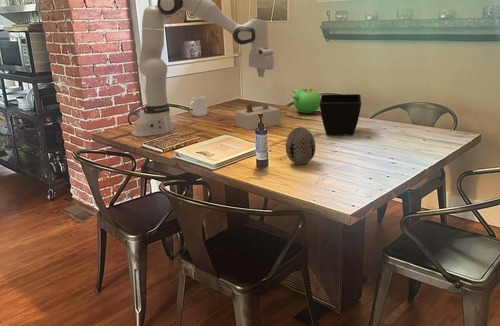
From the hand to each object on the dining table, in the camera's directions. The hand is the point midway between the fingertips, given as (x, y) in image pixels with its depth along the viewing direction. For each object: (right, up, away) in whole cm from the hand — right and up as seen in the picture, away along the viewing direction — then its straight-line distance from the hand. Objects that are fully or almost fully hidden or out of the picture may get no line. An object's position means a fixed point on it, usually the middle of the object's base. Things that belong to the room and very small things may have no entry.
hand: (261, 77), depth 242 cm
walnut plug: (-6, -24, +2) cm, 24 cm away
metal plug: (+3, -23, +7) cm, 25 cm away
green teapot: (+27, -16, +26) cm, 41 cm away
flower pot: (+38, -31, -18) cm, 53 cm away
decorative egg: (+14, -46, -60) cm, 77 cm away
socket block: (-1, -25, +5) cm, 25 cm away
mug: (-37, -17, +36) cm, 55 cm away
